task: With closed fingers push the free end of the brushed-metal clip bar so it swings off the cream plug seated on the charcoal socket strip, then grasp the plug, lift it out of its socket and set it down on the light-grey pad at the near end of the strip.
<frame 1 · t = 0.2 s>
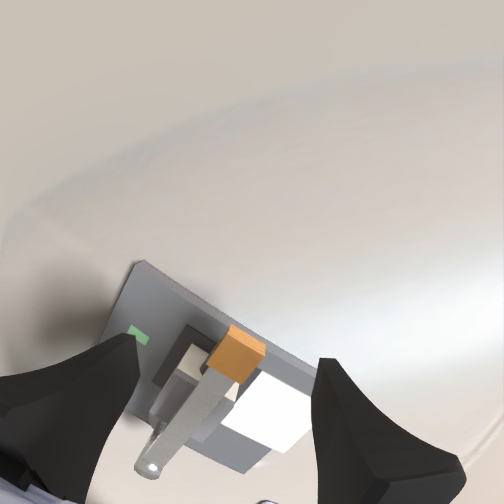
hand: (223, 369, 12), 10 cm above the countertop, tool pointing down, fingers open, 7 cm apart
clip: (193, 402, 18), point 5 cm above the countertop, hinge at 0.0°
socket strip: (198, 379, 24), on the countertop
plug: (203, 377, 22), point 2 cm above the countertop, touching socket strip
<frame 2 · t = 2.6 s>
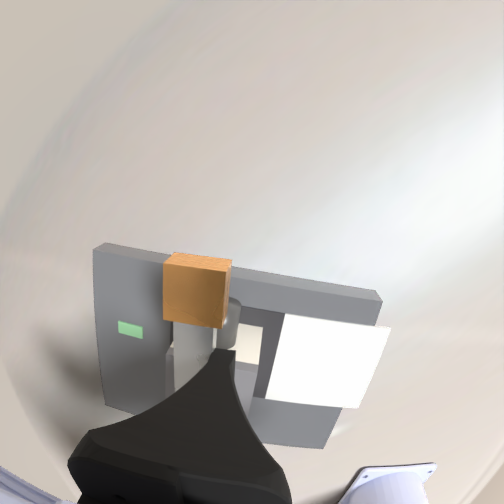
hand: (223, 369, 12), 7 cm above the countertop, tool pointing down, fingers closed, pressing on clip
clip: (204, 383, 14), point 5 cm above the countertop, hinge at 3.0°, touching gripper
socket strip: (222, 356, 20), on the countertop
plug: (221, 351, 18), point 2 cm above the countertop, touching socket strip
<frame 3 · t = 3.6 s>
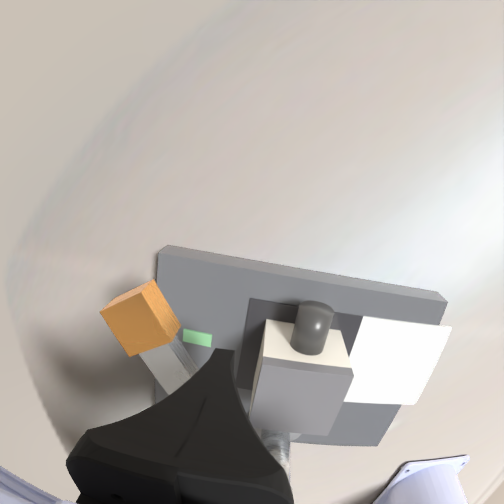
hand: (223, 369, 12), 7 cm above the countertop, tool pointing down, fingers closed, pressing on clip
clip: (224, 395, 14), point 5 cm above the countertop, hinge at 35.4°, touching gripper
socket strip: (289, 360, 19), on the countertop
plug: (295, 356, 17), point 2 cm above the countertop, touching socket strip
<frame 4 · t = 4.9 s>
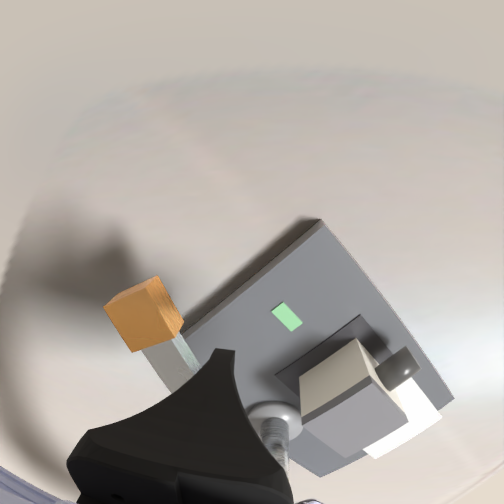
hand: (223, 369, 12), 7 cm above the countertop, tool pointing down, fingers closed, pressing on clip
clip: (225, 393, 14), point 5 cm above the countertop, hinge at 73.0°, touching gripper
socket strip: (323, 375, 19), on the countertop
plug: (346, 378, 17), point 2 cm above the countertop, touching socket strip
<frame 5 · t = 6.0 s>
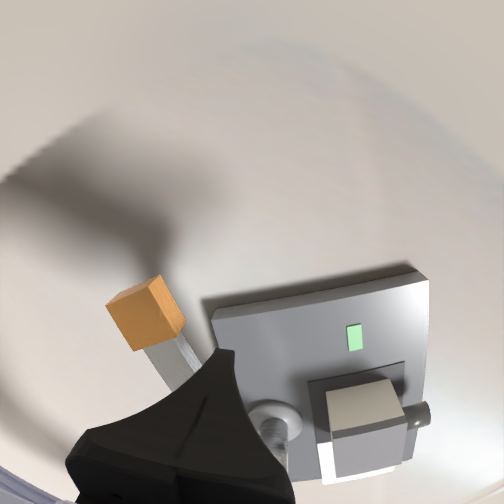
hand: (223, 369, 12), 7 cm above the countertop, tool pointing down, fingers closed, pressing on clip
clip: (225, 393, 14), point 5 cm above the countertop, hinge at 102.6°, touching gripper
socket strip: (333, 396, 20), on the countertop
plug: (358, 407, 18), point 2 cm above the countertop, touching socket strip
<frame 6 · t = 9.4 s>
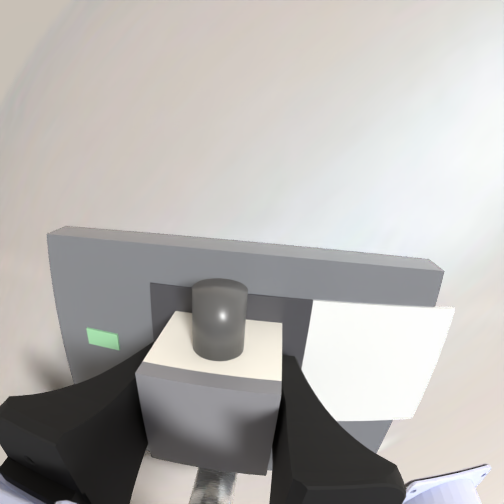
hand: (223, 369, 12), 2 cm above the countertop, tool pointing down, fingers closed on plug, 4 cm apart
clip: (110, 490, 12), point 5 cm above the countertop, hinge at 111.8°
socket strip: (230, 367, 14), on the countertop
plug: (225, 361, 12), point 2 cm above the countertop, touching gripper, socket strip
when the fingers open (3 cm above the countertop, at t = 12.1 s): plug stays where it is, resting on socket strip.
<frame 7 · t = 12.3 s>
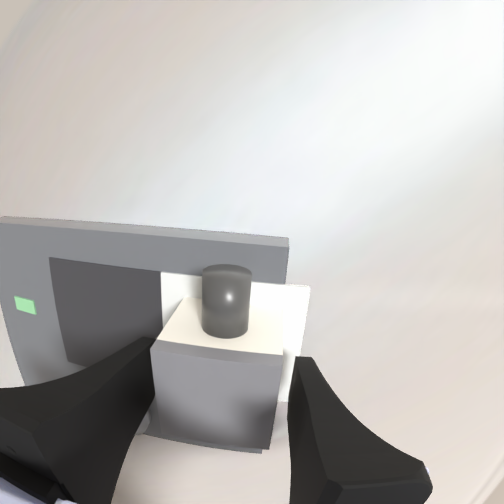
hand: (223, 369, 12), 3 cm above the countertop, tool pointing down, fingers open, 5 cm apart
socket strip: (122, 335, 16), on the countertop
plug: (230, 344, 14), point 2 cm above the countertop, touching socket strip
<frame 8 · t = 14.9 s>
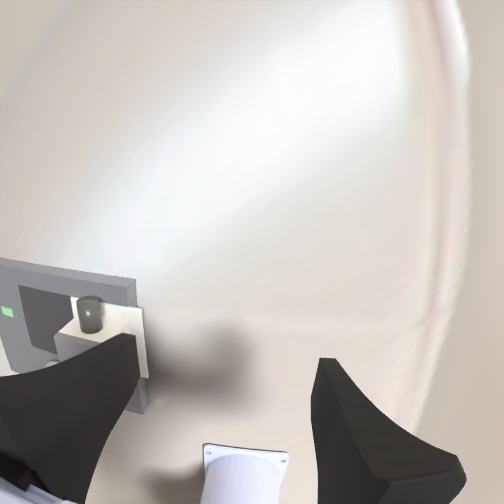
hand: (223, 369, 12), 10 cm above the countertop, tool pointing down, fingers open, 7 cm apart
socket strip: (61, 331, 24), on the countertop
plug: (108, 338, 22), point 2 cm above the countertop, touching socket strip
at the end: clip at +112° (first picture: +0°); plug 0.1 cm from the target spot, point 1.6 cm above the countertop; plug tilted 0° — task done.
